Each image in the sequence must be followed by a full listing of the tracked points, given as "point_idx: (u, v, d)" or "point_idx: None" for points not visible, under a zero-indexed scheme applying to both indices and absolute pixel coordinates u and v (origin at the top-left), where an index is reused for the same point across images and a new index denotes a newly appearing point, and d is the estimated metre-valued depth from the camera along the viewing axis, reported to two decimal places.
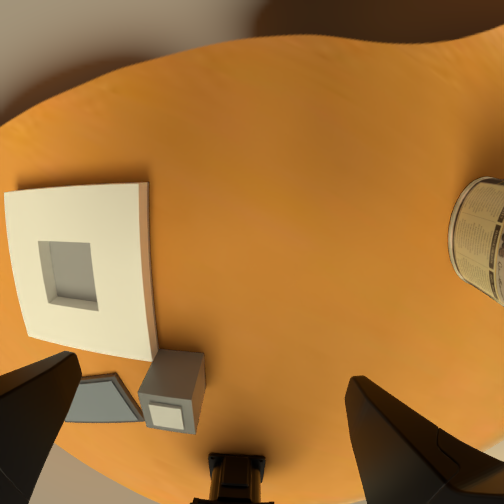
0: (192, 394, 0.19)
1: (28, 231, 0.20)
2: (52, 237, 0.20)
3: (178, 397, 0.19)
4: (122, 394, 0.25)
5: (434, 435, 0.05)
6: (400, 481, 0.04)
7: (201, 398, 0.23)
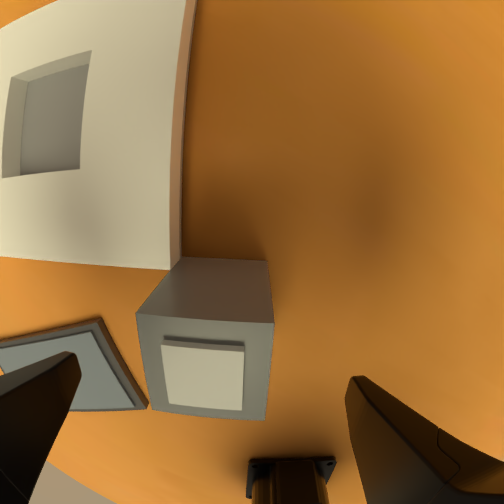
0: (271, 314, 0.09)
1: (2, 69, 0.09)
2: (34, 62, 0.09)
3: (240, 320, 0.08)
4: (108, 358, 0.15)
5: (434, 435, 0.05)
6: (400, 481, 0.04)
7: None
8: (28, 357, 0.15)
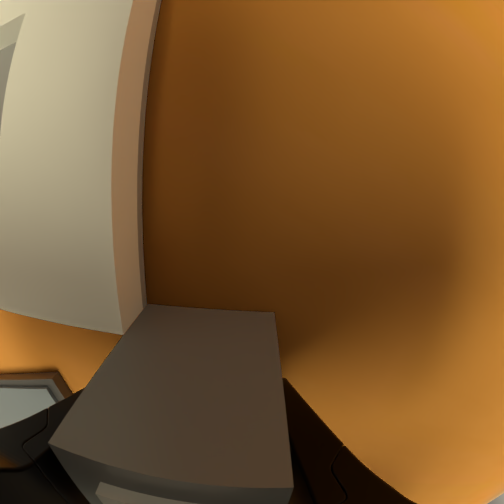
0: (287, 457, 0.04)
1: None
2: None
3: (228, 481, 0.03)
4: None
5: (333, 453, 0.05)
6: (293, 497, 0.04)
7: None
8: None
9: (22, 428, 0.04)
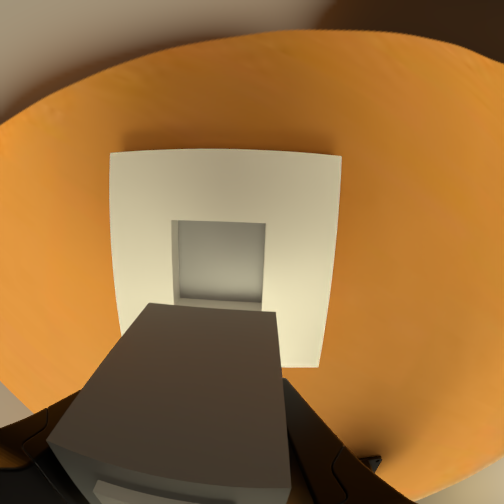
0: (285, 457, 0.04)
1: (154, 207, 0.17)
2: (200, 215, 0.17)
3: (225, 482, 0.03)
4: None
5: (333, 453, 0.05)
6: (293, 497, 0.04)
7: None
8: None
9: (22, 428, 0.04)
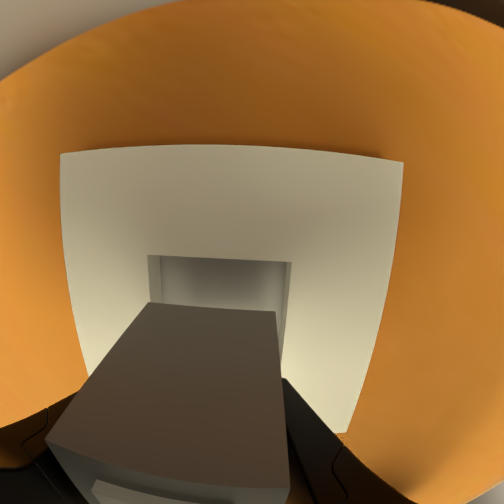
0: (284, 457, 0.04)
1: (122, 234, 0.11)
2: (191, 249, 0.11)
3: (224, 481, 0.03)
4: None
5: (333, 453, 0.05)
6: (293, 497, 0.04)
7: None
8: None
9: (22, 428, 0.04)
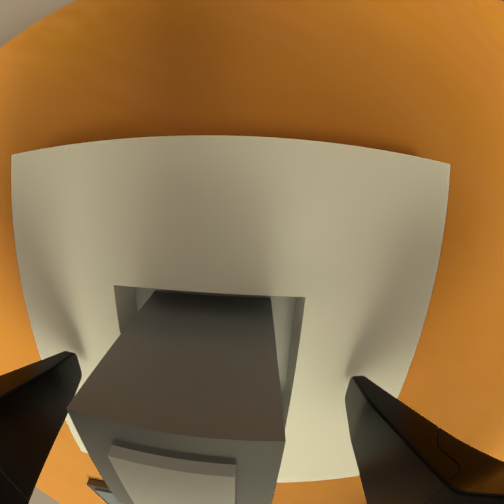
0: (280, 416, 0.05)
1: (81, 258, 0.08)
2: (169, 279, 0.08)
3: (228, 435, 0.04)
4: None
5: (434, 435, 0.05)
6: (400, 481, 0.04)
7: None
8: None
9: None
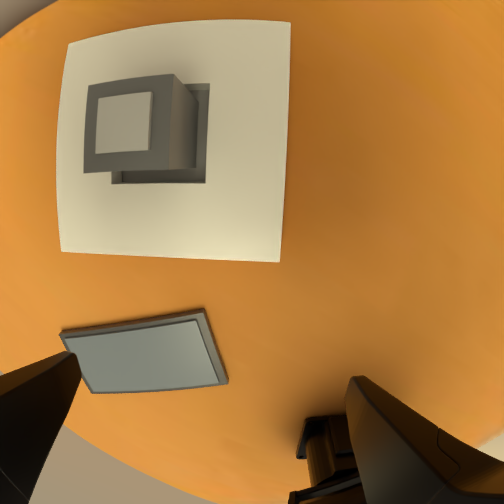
0: (176, 79, 0.11)
1: (101, 81, 0.14)
2: None
3: (152, 76, 0.10)
4: (206, 342, 0.20)
5: (434, 435, 0.05)
6: (400, 481, 0.04)
7: (187, 152, 0.14)
8: (114, 344, 0.20)
9: None
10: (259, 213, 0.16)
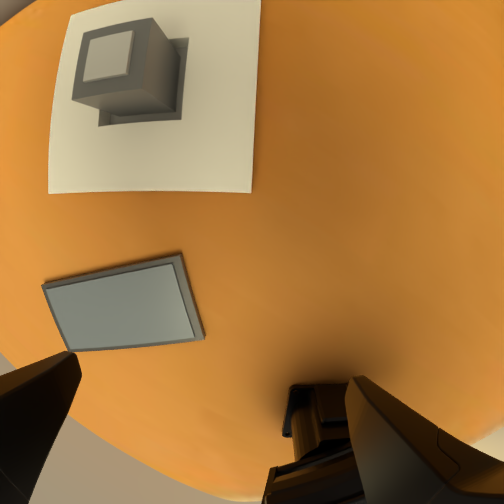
0: (155, 23, 0.11)
1: None
2: None
3: (135, 21, 0.10)
4: (182, 289, 0.20)
5: (434, 435, 0.05)
6: (400, 481, 0.04)
7: (165, 91, 0.14)
8: (91, 293, 0.20)
9: None
10: (230, 145, 0.16)
